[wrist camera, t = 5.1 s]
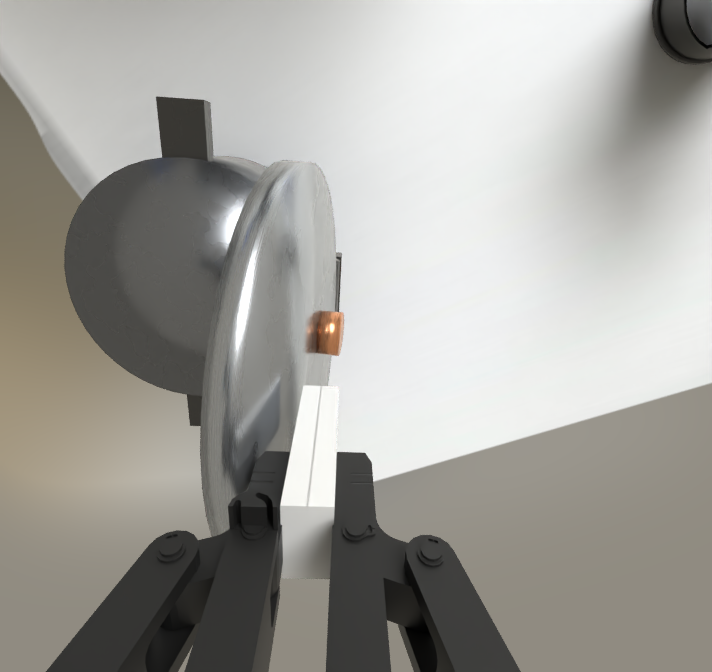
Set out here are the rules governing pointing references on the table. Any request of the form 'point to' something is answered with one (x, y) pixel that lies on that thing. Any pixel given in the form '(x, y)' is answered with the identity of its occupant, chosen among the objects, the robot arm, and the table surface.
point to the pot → (160, 252)
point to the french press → (678, 33)
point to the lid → (268, 328)
